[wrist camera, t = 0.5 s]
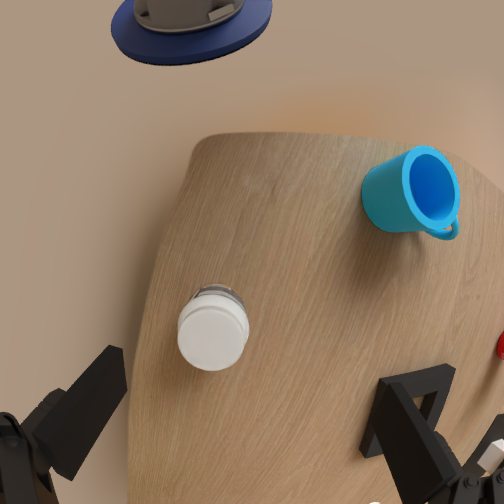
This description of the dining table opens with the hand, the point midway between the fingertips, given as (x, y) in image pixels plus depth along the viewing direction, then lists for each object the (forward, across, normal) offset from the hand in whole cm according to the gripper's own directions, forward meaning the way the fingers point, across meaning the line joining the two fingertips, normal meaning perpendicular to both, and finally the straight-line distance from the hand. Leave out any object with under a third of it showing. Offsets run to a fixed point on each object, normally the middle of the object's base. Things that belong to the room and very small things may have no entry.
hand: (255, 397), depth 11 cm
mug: (+20, +16, +10) cm, 28 cm away
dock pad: (+16, +25, -16) cm, 34 cm away
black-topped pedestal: (+15, +73, -43) cm, 86 cm away
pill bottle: (+16, -4, -3) cm, 17 cm away
